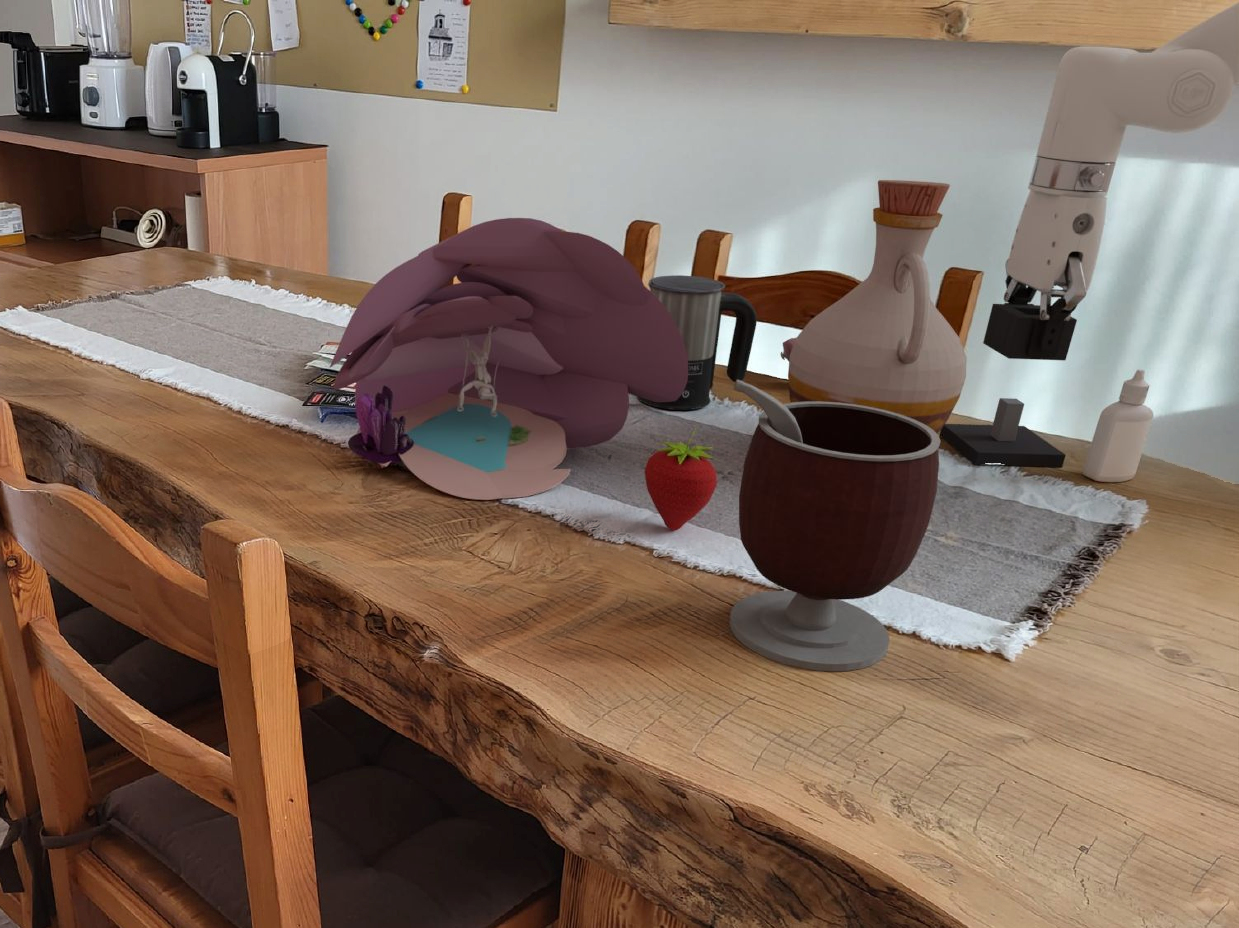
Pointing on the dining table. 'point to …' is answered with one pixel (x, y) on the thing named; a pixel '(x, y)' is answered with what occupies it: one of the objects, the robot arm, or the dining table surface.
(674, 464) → the strawberry
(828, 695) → the dining table surface
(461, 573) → the dining table surface
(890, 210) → the jug
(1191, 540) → the dining table surface
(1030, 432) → the base pad
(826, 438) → the mate gourd
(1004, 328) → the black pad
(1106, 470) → the eye dropper bottle
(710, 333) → the milk frother
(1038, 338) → the robot arm
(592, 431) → the purple rock cave
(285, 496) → the dining table surface
